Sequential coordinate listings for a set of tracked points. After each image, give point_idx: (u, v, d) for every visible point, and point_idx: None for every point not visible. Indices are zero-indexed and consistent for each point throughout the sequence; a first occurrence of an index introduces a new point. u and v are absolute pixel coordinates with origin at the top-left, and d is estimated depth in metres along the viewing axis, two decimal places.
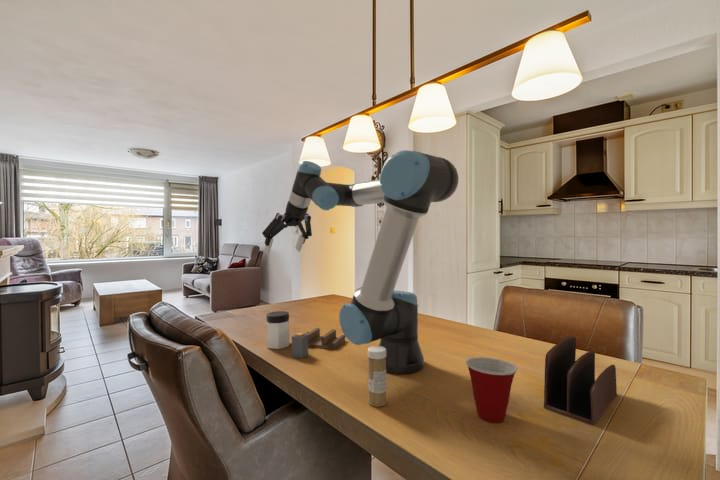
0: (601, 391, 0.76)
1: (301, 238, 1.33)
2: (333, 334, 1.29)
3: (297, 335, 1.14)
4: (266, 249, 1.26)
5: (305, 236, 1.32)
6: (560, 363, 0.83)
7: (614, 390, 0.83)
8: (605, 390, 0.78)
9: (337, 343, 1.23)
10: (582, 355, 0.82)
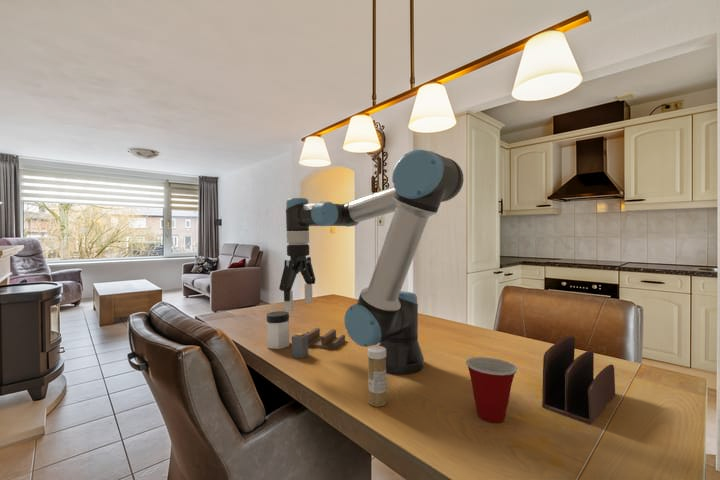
0: (599, 391, 0.76)
1: (308, 286, 1.21)
2: (333, 334, 1.29)
3: (297, 335, 1.14)
4: (288, 307, 1.08)
5: (311, 281, 1.21)
6: (558, 363, 0.84)
7: (613, 390, 0.83)
8: (603, 390, 0.78)
9: (337, 343, 1.23)
10: (580, 355, 0.82)
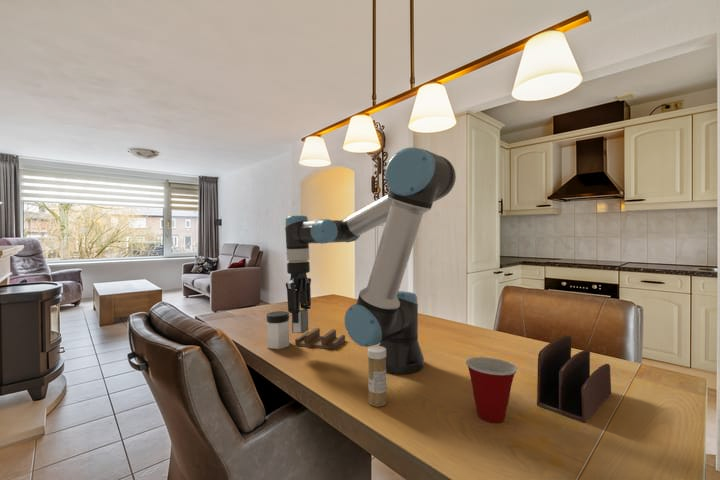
0: (593, 389, 0.77)
1: None
2: (333, 334, 1.29)
3: None
4: (297, 328, 1.12)
5: (307, 306, 1.17)
6: (554, 362, 0.84)
7: (608, 389, 0.84)
8: (598, 388, 0.79)
9: (337, 343, 1.23)
10: (576, 354, 0.83)
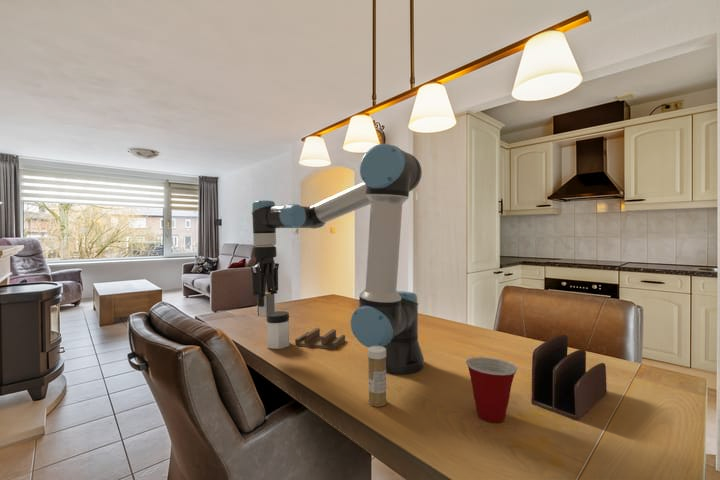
0: (587, 388, 0.78)
1: None
2: (333, 334, 1.29)
3: None
4: (262, 312, 1.13)
5: (274, 291, 1.18)
6: (549, 360, 0.85)
7: (604, 388, 0.84)
8: (592, 387, 0.80)
9: (337, 343, 1.23)
10: (571, 353, 0.83)
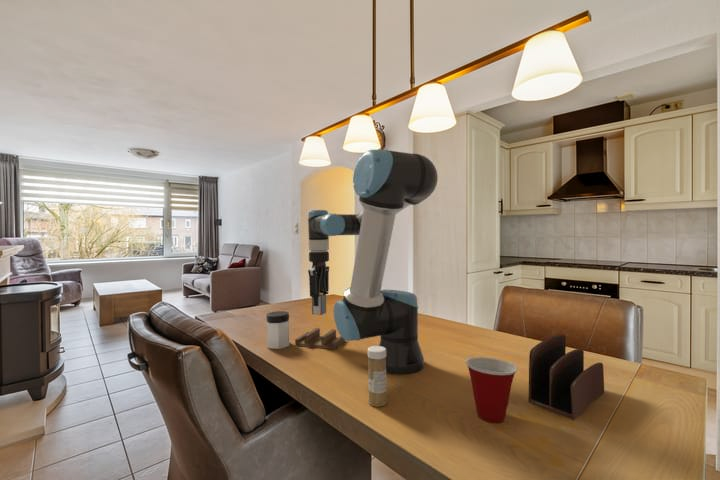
0: (584, 387, 0.78)
1: None
2: (333, 334, 1.29)
3: None
4: (316, 311, 1.25)
5: (325, 291, 1.30)
6: (547, 360, 0.86)
7: (601, 387, 0.85)
8: (589, 386, 0.80)
9: (337, 343, 1.23)
10: (568, 352, 0.84)
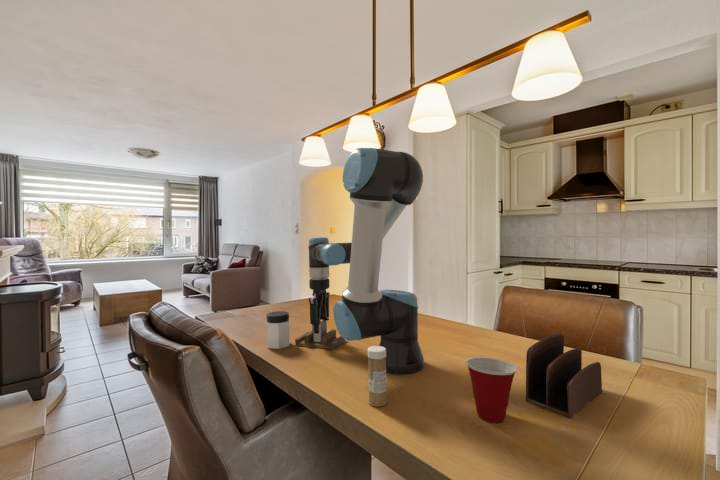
0: (581, 386, 0.78)
1: None
2: (333, 334, 1.29)
3: None
4: (317, 338, 1.26)
5: (326, 318, 1.30)
6: (544, 359, 0.86)
7: (599, 387, 0.85)
8: (586, 386, 0.80)
9: (337, 343, 1.23)
10: (565, 352, 0.84)
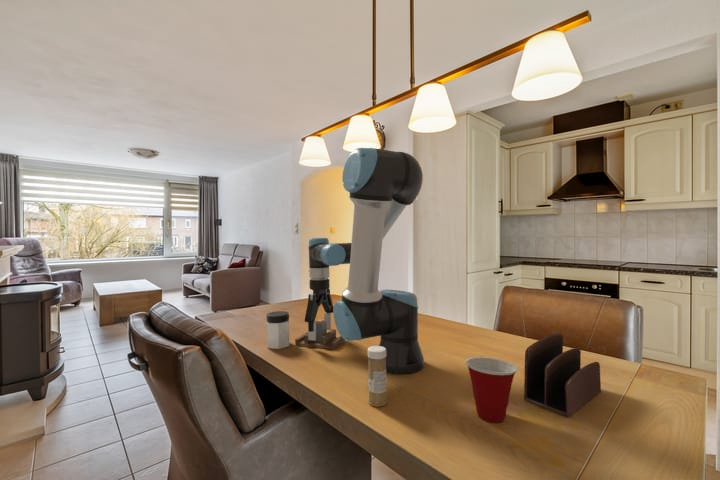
0: (579, 386, 0.79)
1: (328, 315, 1.34)
2: (333, 334, 1.29)
3: (317, 321, 1.27)
4: (312, 336, 1.21)
5: (330, 311, 1.34)
6: (543, 359, 0.86)
7: (597, 386, 0.85)
8: (585, 385, 0.80)
9: (337, 343, 1.23)
10: None
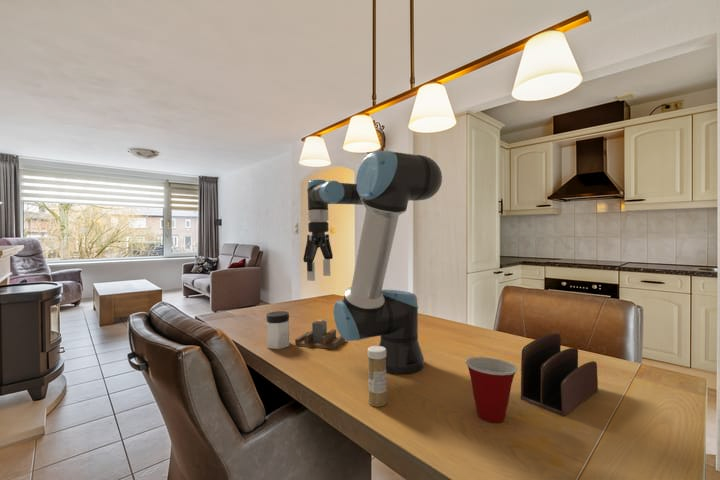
0: (575, 385, 0.79)
1: (327, 261, 1.33)
2: (333, 334, 1.29)
3: (317, 321, 1.27)
4: (310, 277, 1.21)
5: (329, 257, 1.34)
6: (540, 358, 0.87)
7: (594, 386, 0.85)
8: (581, 384, 0.81)
9: (337, 343, 1.23)
10: (561, 351, 0.85)
